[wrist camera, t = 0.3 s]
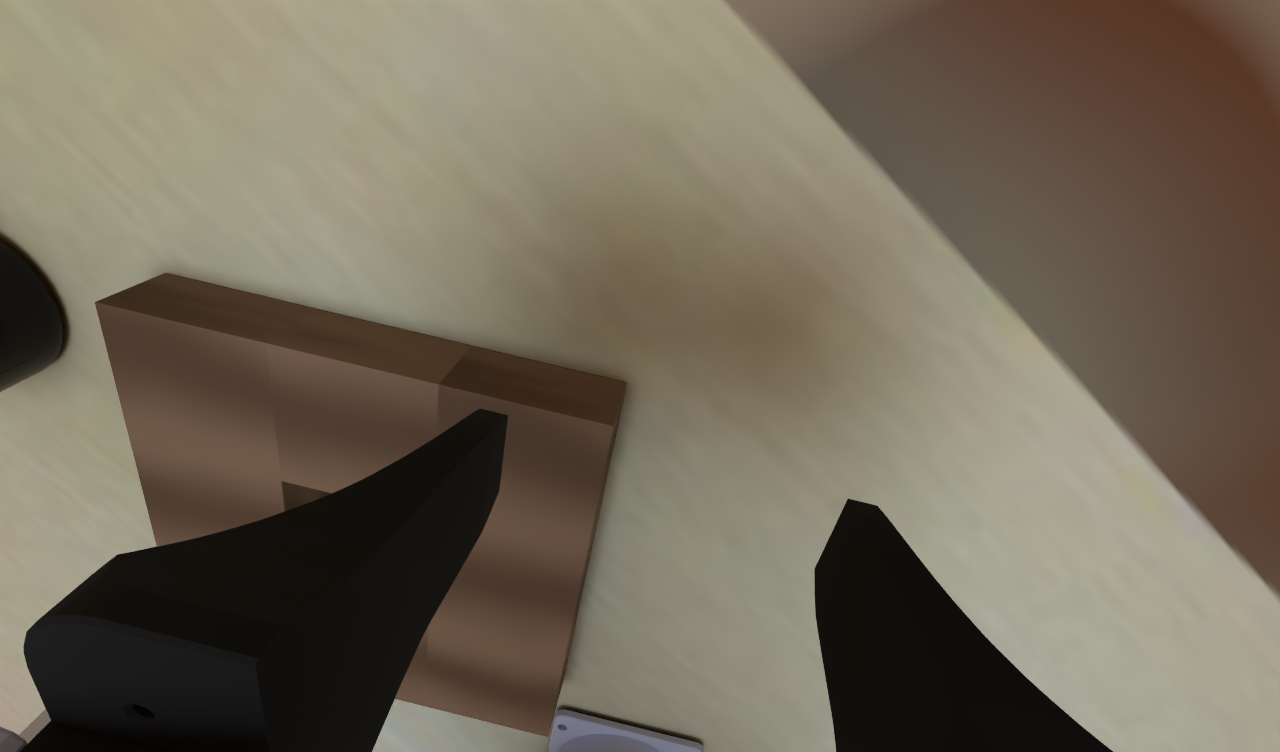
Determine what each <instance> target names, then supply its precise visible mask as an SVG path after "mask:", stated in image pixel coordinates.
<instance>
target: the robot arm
mask: <svg viewBox="0 0 1280 752" xmlns="http://www.w3.org/2000/svg"><path fill="white" fill-rule="evenodd" d="M507 422H508V415H505V414H501V413H497V412H493V411H489V410H485V409H481V408H480V409H478V410H476V411H474V412H473V413H471V414H470V415H468V416H467V417H465V418H464V419H462V420H461V421H459V422H458V423H456V424H455V425H453V426H452V427H450V428H449V429H447V430H446V431H444V432H443V433H441V434H440V435H438V436H436V437H435V438H433V439H432V440H430V441H429V442H427V443H425V444H424V445H422V446H421V447H419V448H417V449H416V450H414V451H412V452H411V453H409V454H408V455H406V456H404V457H403V458H401V459H399V460H397V461H395V462H394V463H392V464H390V465H388V466H386V467H385V468H383V469H381V470H379V471H377V472H375V473H374V474H372V475H370V476H368V477H366V478H364V479H362V480H360V481H358V482H356V483H354V484H352V485H350V486H347V487H345V488H343V489H341V490H338V491H336V492H334V493H331V494H329V495H327V496H325V497H322V498H320V499H317V500H315V501H312V502H309V503H307V504H304V505H301V506H298V507H296V508H293V509H290V510H287V511H285V512H282V513H279V514H276V515H273V516H271V517H268V518H265V519H262V520H259V521H255V522H252V523H249V524H245V525H242V526H239V527H236V528H232V529H228V530H225V531H221V532H217V533H214V534H210V535H206V536H202V537H198V538H194V539H190V540H186V541H181V542H176V543H172V544H167V545H162V546H158V547H153V548H148V549H144V550H139V551H134V552H129V553H124V554H118V555H117V556H115V557H114V558H113V559H111V560H110V561H109V562H107V563H106V564H105V565H104V566H102V567H101V568H100V569H99V570H97V571H96V572H95V573H94V574H92V575H91V576H90V577H89V578H88V579H86V580H85V581H84V582H83V583H82V584H80V585H79V586H78V587H77V588H76V589H75V590H73V591H72V592H71V593H70V594H69V595H67V596H66V597H65V598H64V599H63V600H62V601H60V602H59V603H58V604H57V605H56V606H54V607H53V608H52V609H51V610H50V611H48V612H47V613H46V614H45V615H44V616H43V617H41V618H40V619H39V620H38V621H37V622H36V623H35V624H34V625H33V626H32V627H31V628H30V629H29V630H28V631H27V633H26V637H25V642H24V655H25V659H26V663H27V667H28V669H29V672H30V674H31V676H32V678H33V681H34V683H35V685H36V687H37V690H38V692H39V694H40V696H41V699H42V701H43V703H44V705H45V708H46V710H47V712H48V714H49V717H50V719H51V721H50V722H49V723H48V724H47V725H46V726H45V727H44V728H43V729H42V730H41V731H40V732H39V733H38V734H37V735H36V736H35V737H34V738H33V739H32V740H31V741H30V742H29V743H27V742H26V741H25V739H23V738H22V737H20V736H19V735H17V734H16V733H14V732H12V731H9V730H7V729H4V728H2V727H0V752H372V750H373V748H374V746H375V743H376V741H377V738H378V736H379V734H380V731H381V729H382V727H383V724H384V722H385V720H386V718H387V715H388V713H389V711H390V708H391V706H392V704H393V701H394V699H395V697H396V695H397V692H398V690H399V688H400V685H401V683H402V681H403V679H404V677H405V674H406V672H407V670H408V668H409V665H410V663H411V661H412V659H413V657H414V654H415V652H416V650H417V648H418V646H419V643H420V641H421V639H422V637H423V635H424V633H425V632H426V630H427V628H428V626H429V624H430V622H431V620H432V618H433V617H434V615H435V613H436V611H437V610H438V608H439V606H440V605H441V603H442V601H443V599H444V598H445V596H446V594H447V592H448V591H449V589H450V587H451V586H452V584H453V582H454V580H455V579H456V577H457V575H458V573H459V572H460V570H461V568H462V567H463V565H464V563H465V561H466V560H467V558H468V556H469V554H470V553H471V551H472V549H473V547H474V546H475V544H476V542H477V540H478V539H479V537H480V535H481V533H482V531H483V529H484V527H485V524H486V522H487V520H488V517H489V515H490V513H491V510H492V508H493V505H494V503H495V500H496V498H497V496H498V493H499V490H500V481H501V473H502V464H503V456H504V447H505V439H506V430H507ZM815 609H816V620H817V627H818V633H819V640H820V646H821V652H822V658H823V664H824V670H825V676H826V682H827V688H828V694H829V700H830V706H831V712H832V718H833V725H834V734H835V742H836V752H1113V751H1112V750H1110V749H1109V748H1108V747H1106V746H1105V745H1104V744H1103V743H1101V742H1100V741H1099V740H1098V739H1096V738H1095V737H1094V736H1093V735H1092V734H1090V733H1089V732H1088V731H1087V730H1085V729H1084V728H1083V727H1082V726H1080V725H1079V724H1078V723H1077V722H1076V721H1075V720H1073V719H1072V718H1071V717H1070V716H1069V715H1068V714H1067V713H1065V712H1064V711H1063V710H1062V709H1061V708H1060V707H1058V706H1057V705H1056V704H1055V703H1054V702H1053V701H1052V700H1050V699H1049V698H1048V697H1047V696H1046V695H1045V694H1044V693H1042V692H1041V691H1040V690H1039V689H1038V688H1037V687H1036V686H1035V685H1034V684H1033V683H1032V682H1031V681H1029V680H1028V679H1027V678H1026V677H1025V676H1024V675H1023V674H1022V673H1021V672H1020V671H1019V670H1018V669H1017V668H1016V667H1015V666H1014V665H1013V664H1012V663H1011V662H1010V661H1009V660H1008V659H1007V658H1006V657H1005V656H1004V655H1003V654H1002V653H1001V652H1000V651H999V650H998V649H997V648H996V647H995V646H994V645H993V644H992V643H991V642H990V641H989V640H988V639H987V638H986V637H985V636H984V635H983V634H982V633H981V631H980V630H979V629H978V628H977V627H976V626H975V625H974V624H973V623H972V621H971V620H970V619H969V618H968V617H967V616H966V615H965V614H964V612H963V611H962V610H961V609H960V608H959V607H958V606H957V605H956V603H955V602H954V601H953V600H952V599H951V597H950V596H949V595H948V594H947V593H946V592H945V590H944V589H943V588H942V587H941V585H940V584H939V583H938V582H937V581H936V579H935V578H934V577H933V576H932V574H931V573H930V572H929V571H928V569H927V568H926V567H925V566H924V564H923V563H922V562H921V560H920V559H919V558H918V557H917V555H916V554H915V553H914V551H913V550H912V549H911V548H910V546H909V545H908V544H907V542H906V541H905V540H904V539H903V537H902V536H901V535H900V533H899V532H898V531H897V529H896V528H895V527H894V526H893V524H892V523H891V522H890V521H889V519H888V518H887V517H886V516H885V514H884V513H883V512H882V511H881V510H880V508H879V507H878V506H876V505H872V504H868V503H864V502H860V501H855V500H851V499H848V500H847V502H846V504H845V506H844V508H843V510H842V513H841V515H840V517H839V519H838V521H837V523H836V525H835V527H834V529H833V531H832V534H831V536H830V538H829V540H828V542H827V544H826V546H825V548H824V550H823V552H822V555H821V557H820V559H819V561H818V563H817V565H816V567H815ZM547 752H703V746H702V745H701V744H699V743H697V742H694V741H690V740H686V739H682V738H678V737H674V736H669V735H665V734H661V733H657V732H653V731H649V730H645V729H641V728H637V727H633V726H629V725H625V724H621V723H617V722H613V721H609V720H605V719H601V718H597V717H593V716H589V715H585V714H581V713H577V712H573V711H569V710H564V709H562V710H559V711H557V712H556V715H555V718H554V723H553V728H552V732H551V737H550V742H549V746H548V751H547Z"/></svg>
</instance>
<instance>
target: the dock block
mask: <svg viewBox="0 0 1280 752" xmlns="http://www.w3.org/2000/svg"><path fill="white" fill-rule="evenodd" d="M95 305H96V309H97V312H98V316H99V320H100V324H101V328H102V332H103V336H104V340H105V344H106V348H107V352H108V356H109V360H110V364H111V367H112V371H113V375H114V379H115V383H116V387H117V391H118V395H119V399H120V403H121V407H122V411H123V415H124V419H125V423H126V426H127V430H128V434H129V438H130V442H131V446H132V450H133V454H134V458H135V462H136V466H137V470H138V474H139V478H140V482H141V485H142V489H143V493H144V497H145V501H146V505H147V509H148V513H149V517H150V521H151V525H152V529H153V533H154V537H155V541H156V544H157V547H158V546H162V545H167V544H172V543H176V542H181V541H186V540H190V539H194V538H198V537H202V536H206V535H210V534H214V533H217V532H221V531H225V530H228V529H232V528H236V527H239V526H242V525H245V524H249V523H252V522H255V521H259V520H262V519H265V518H268V517H271V516H273V515H276V514H279V513H282V512H285V511H287V510H290V509H293V508H296V507H298V506H301V505H304V504H307V503H309V502H312V501H315V500H317V499H320V498H322V497H325V496H327V495H329V493H334V492H336V491H338V490H341V489H343V488H345V487H347V486H350V485H352V484H354V483H356V482H358V481H360V480H362V479H364V478H366V477H368V476H370V475H372V474H374V473H375V472H377V471H379V470H381V469H383V468H385V467H386V466H388V465H390V464H392V463H394V462H395V461H397V460H399V459H401V458H403V457H404V456H406V455H408V454H409V453H411V452H412V451H414V450H416V449H417V448H419V447H421V446H422V445H424V444H425V443H427V442H429V441H430V440H432V439H433V438H435V437H436V436H438V435H440V434H441V433H443V432H444V431H446V430H447V429H449V428H450V427H452V426H453V425H455V424H456V423H458V422H459V421H461V420H462V419H464V418H465V417H467V416H468V415H470V414H471V413H473V412H474V411H476V410H478V409H480V408H481V409H485V410H489V411H493V412H497V413H501V414H505V415H508V422H507V430H506V439H505V447H504V456H503V464H502V473H501V481H500V490H499V493H498V496H497V498H496V500H495V503H494V505H493V508H492V510H491V513H490V515H489V517H488V520H487V522H486V524H485V527H484V529H483V531H482V533H481V535H480V537H479V539H478V540H477V542H476V544H475V546H474V547H473V549H472V551H471V553H470V554H469V556H468V558H467V560H466V561H465V563H464V565H463V567H462V568H461V570H460V572H459V573H458V575H457V577H456V579H455V580H454V582H453V584H452V586H451V587H450V589H449V591H448V592H447V594H446V596H445V598H444V599H443V601H442V603H441V605H440V606H439V608H438V610H437V611H436V613H435V615H434V617H433V618H432V620H431V622H430V624H429V626H428V628H427V630H426V632H425V633H424V635H423V637H422V639H421V641H420V643H419V646H418V648H417V650H416V652H415V654H414V657H413V659H412V661H411V663H410V665H409V668H408V670H407V672H406V674H405V677H404V679H403V681H402V683H401V685H400V688H399V690H398V692H397V695H396V697H395V699H399V700H403V701H406V702H410V703H414V704H418V705H422V706H426V707H430V708H434V709H438V710H442V711H446V712H450V713H454V714H458V715H462V716H466V717H470V718H474V719H478V720H482V721H486V722H490V723H494V724H498V725H502V726H506V727H510V728H514V729H518V730H522V731H526V732H530V733H534V734H538V735H542V736H546V737H548V735H549V732H550V728H551V724H552V720H553V717H554V713H555V709H556V705H557V702H558V698H559V694H560V690H561V686H562V683H563V679H564V674H565V669H566V665H567V660H568V655H569V651H570V646H571V641H572V637H573V632H574V627H575V623H576V618H577V613H578V609H579V604H580V600H581V595H582V590H583V586H584V581H585V576H586V572H587V567H588V562H589V558H590V553H591V548H592V544H593V539H594V534H595V530H596V525H597V520H598V516H599V511H600V506H601V502H602V497H603V492H604V488H605V483H606V478H607V474H608V469H609V464H610V460H611V455H612V451H613V446H614V441H615V437H616V432H617V427H618V423H619V418H620V413H621V409H622V404H623V399H624V395H625V390H626V385H627V383H625V382H621V381H617V380H613V379H608V378H604V377H600V376H596V375H592V374H587V373H583V372H579V371H575V370H571V369H566V368H562V367H558V366H554V365H549V364H545V363H541V362H537V361H533V360H528V359H524V358H520V357H516V356H512V355H507V354H503V353H499V352H495V351H491V350H486V349H482V348H478V347H474V346H470V345H465V344H461V343H457V342H453V341H449V340H444V339H440V338H436V337H432V336H428V335H423V334H419V333H415V332H411V331H406V330H402V329H398V328H394V327H390V326H385V325H381V324H377V323H373V322H369V321H364V320H360V319H356V318H352V317H348V316H343V315H339V314H335V313H331V312H327V311H322V310H318V309H314V308H310V307H306V306H301V305H297V304H293V303H289V302H284V301H280V300H276V299H272V298H268V297H263V296H259V295H255V294H251V293H247V292H242V291H238V290H234V289H230V288H226V287H221V286H217V285H213V284H209V283H205V282H200V281H196V280H192V279H188V278H184V277H179V276H175V275H171V274H167V273H164V274H162V275H160V276H157V277H155V278H152V279H150V280H147V281H145V282H143V283H140V284H138V285H135V286H133V287H131V288H128V289H126V290H123V291H121V292H118V293H116V294H114V295H111V296H109V297H106V298H104V299H101V300H99V301H97V302H95Z"/></svg>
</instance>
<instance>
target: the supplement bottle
mask: <svg viewBox="0 0 1280 752" xmlns="http://www.w3.org/2000/svg"><path fill="white" fill-rule="evenodd" d="M62 342H63V323H62V318H61V314H60V311H59V308H58V306H57V304H56V301H55V299H54V297H53V296H52V294H51V292H50V290H49V289H48V287H47V286H46V284H45V283H44V281H43V280H42V279H41V277H40V276H39V275H38V274H37V272H36V271H35V270H34V269H33V268H32V267H31V266H30V265H29V264H28V262H27V261H25V260H24V259H23V258H22V257H21V256H20V255H19V254H18V253H17V252H16V251H14V250H13V249H12V248H11V247H9V246H8V245H7V244H5V243H4V242H2V241H1V240H0V392H1V391H3V390H5V389H7V388H9V387H11V386H13V385H15V384H17V383H19V382H21V381H23V380H25V379H27V378H29V377H31V376H33V375H35V374H37V373H38V372H40V371H42V370H43V369H45V368H46V367H48V366H49V365H50V364H51V363H52V362H53V361H54V360H55V358H56V357H57V355H58V353H59V352H60V349H61V346H62Z"/></svg>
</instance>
